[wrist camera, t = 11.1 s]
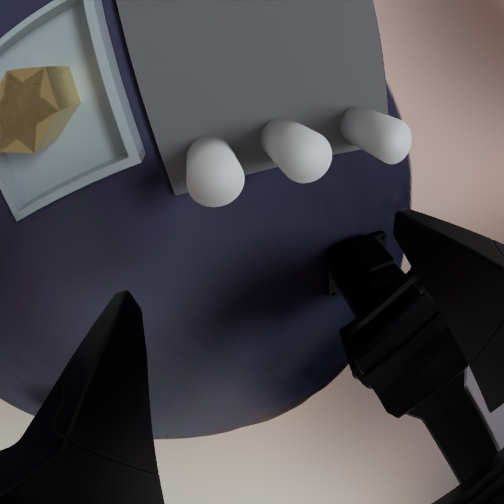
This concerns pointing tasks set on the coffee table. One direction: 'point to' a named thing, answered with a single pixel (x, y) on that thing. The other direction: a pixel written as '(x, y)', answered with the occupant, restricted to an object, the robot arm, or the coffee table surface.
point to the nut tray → (85, 117)
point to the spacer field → (259, 88)
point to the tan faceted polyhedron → (35, 107)
